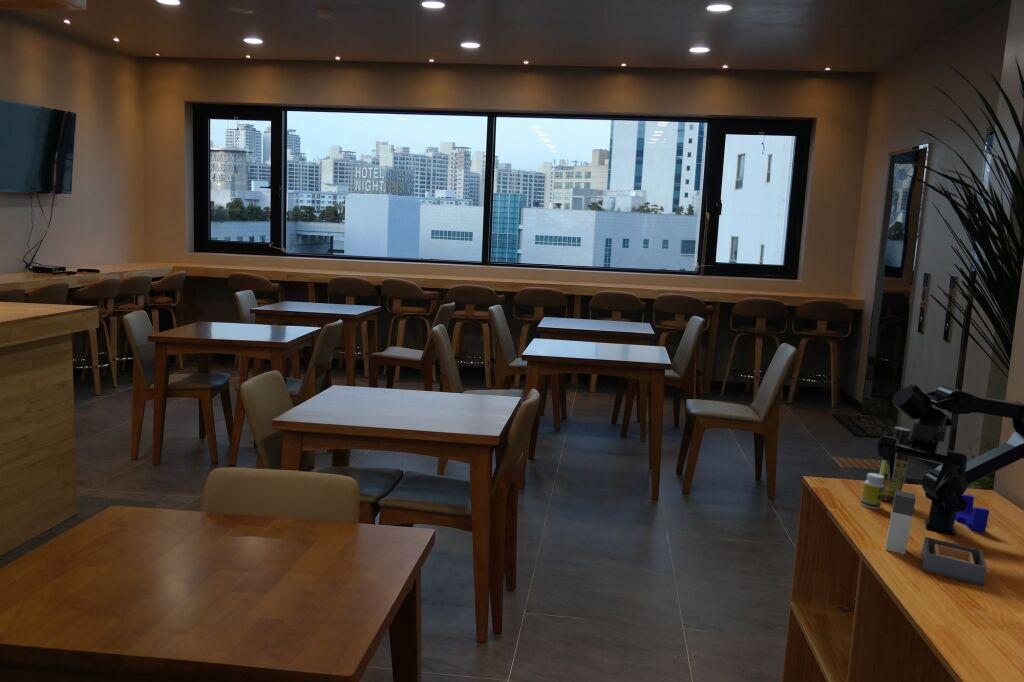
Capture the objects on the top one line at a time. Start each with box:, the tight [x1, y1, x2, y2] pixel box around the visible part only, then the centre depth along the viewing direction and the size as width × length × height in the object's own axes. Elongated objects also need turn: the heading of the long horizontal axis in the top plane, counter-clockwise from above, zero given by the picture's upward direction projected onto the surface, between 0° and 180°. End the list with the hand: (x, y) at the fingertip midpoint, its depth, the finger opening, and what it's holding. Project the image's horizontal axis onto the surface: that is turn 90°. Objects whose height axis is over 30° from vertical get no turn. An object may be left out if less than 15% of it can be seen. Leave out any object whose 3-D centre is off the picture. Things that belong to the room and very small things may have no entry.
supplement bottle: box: [860, 472, 884, 510], centre depth 212 cm, size 5×5×8 cm
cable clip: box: [955, 494, 990, 534], centre depth 207 cm, size 12×4×6 cm, turn 169°
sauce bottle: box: [878, 426, 911, 503], centre depth 219 cm, size 6×6×20 cm
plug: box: [885, 490, 916, 555], centre depth 183 cm, size 4×4×13 cm
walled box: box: [921, 536, 988, 587], centre depth 175 cm, size 11×11×4 cm
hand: (912, 484), depth 188 cm, fingers open, 9 cm apart
